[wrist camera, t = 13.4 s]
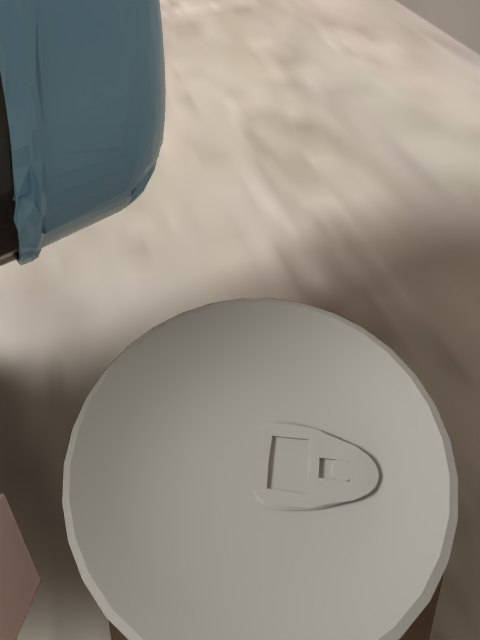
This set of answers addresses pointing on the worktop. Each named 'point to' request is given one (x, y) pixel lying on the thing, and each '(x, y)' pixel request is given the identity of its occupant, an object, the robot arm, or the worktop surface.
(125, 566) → the canned food
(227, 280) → the worktop surface
